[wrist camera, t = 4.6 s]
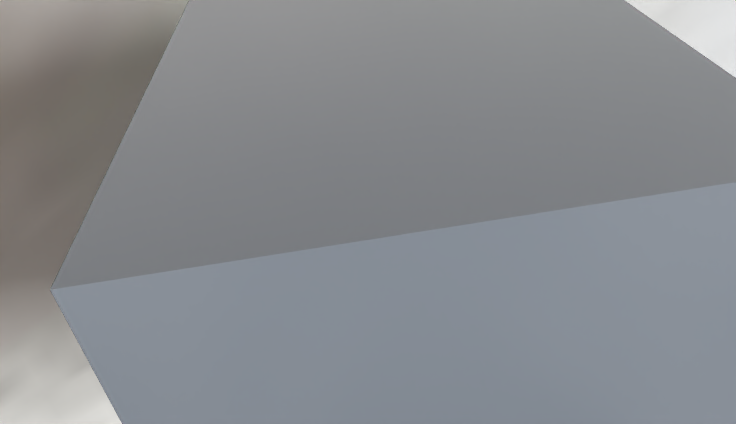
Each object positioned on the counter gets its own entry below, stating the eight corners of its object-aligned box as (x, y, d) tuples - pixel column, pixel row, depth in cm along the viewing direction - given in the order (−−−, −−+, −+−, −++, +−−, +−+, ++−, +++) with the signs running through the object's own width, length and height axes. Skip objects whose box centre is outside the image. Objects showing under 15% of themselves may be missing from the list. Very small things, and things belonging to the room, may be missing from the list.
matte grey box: (545, -56, 13) (857, 163, 6) (534, 353, 20) (673, 694, 12) (188, 0, 13) (49, 289, 6) (299, 390, 20) (300, 753, 12)
